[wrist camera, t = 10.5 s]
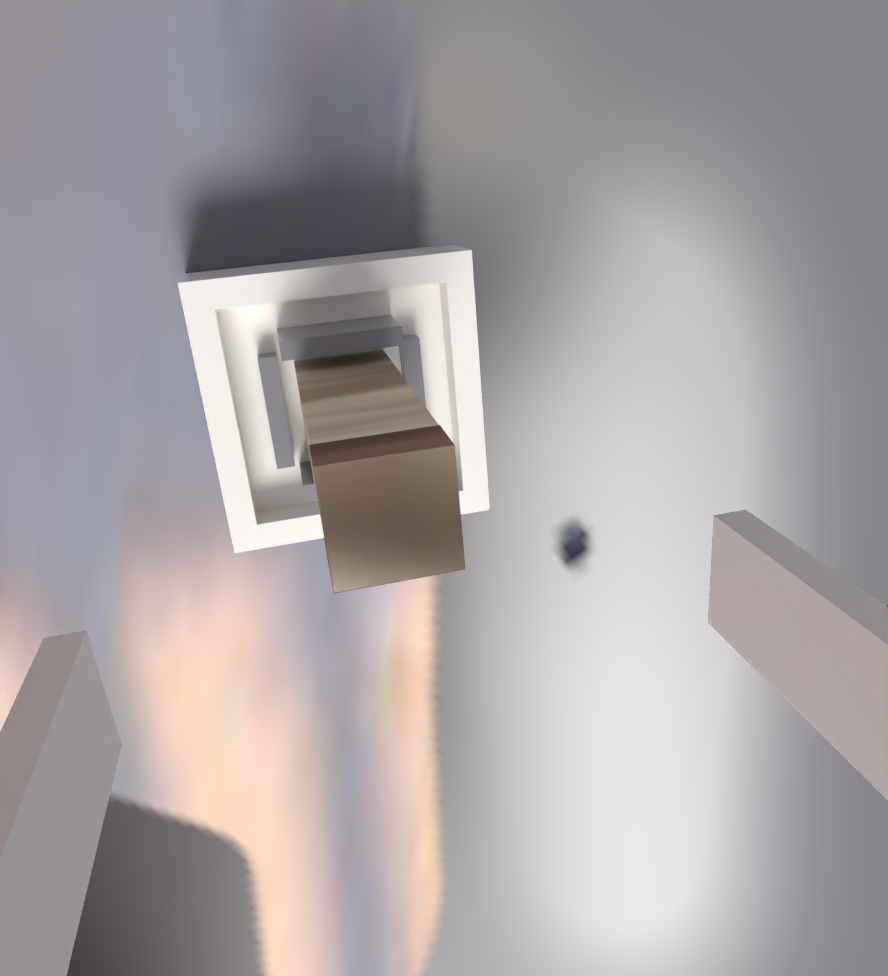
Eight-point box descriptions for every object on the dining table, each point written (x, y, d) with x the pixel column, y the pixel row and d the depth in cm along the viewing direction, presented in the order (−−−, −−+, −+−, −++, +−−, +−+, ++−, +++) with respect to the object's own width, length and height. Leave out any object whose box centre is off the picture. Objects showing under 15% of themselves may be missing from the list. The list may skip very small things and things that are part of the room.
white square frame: (185, 273, 34) (173, 287, 29) (452, 243, 36) (480, 252, 31) (236, 522, 39) (233, 567, 34) (471, 483, 41) (498, 521, 36)
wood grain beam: (293, 361, 34) (313, 467, 22) (383, 349, 35) (454, 444, 22) (307, 447, 36) (333, 593, 23) (393, 434, 37) (465, 569, 24)
